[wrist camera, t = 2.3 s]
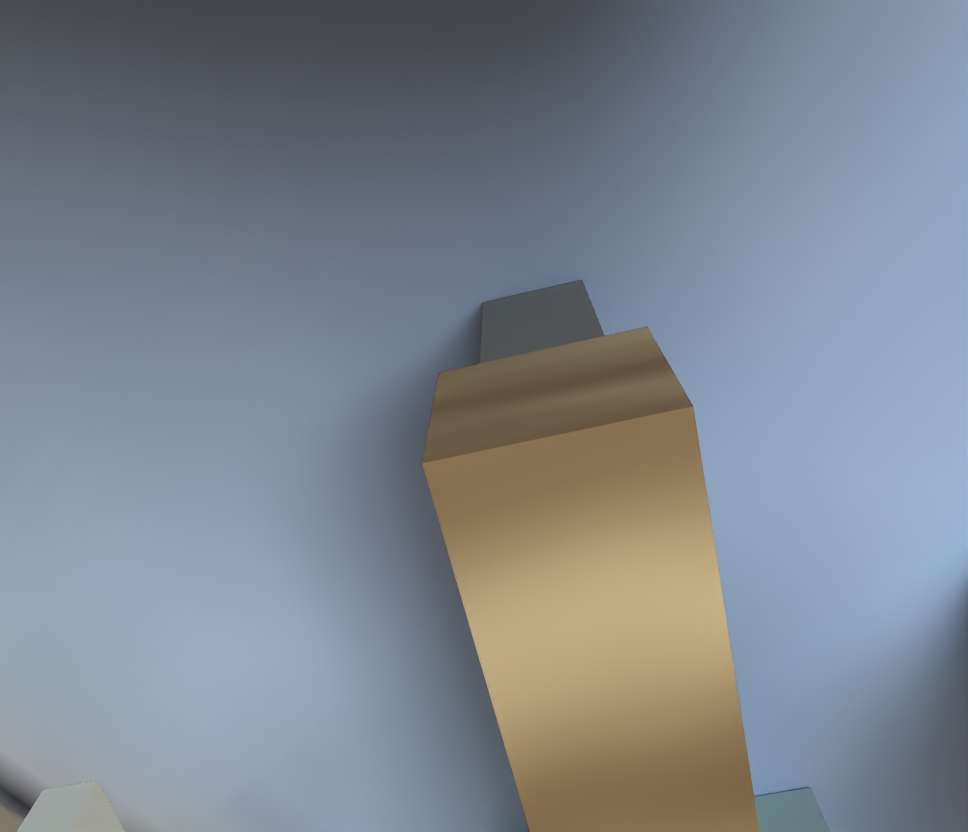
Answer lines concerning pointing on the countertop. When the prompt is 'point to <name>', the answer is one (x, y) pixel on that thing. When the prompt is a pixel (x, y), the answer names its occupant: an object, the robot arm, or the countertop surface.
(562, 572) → the oak peg
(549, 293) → the rail
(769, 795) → the bore block
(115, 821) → the robot arm
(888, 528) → the countertop surface
